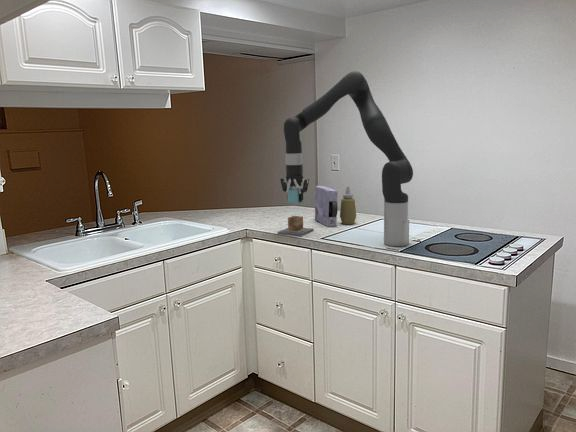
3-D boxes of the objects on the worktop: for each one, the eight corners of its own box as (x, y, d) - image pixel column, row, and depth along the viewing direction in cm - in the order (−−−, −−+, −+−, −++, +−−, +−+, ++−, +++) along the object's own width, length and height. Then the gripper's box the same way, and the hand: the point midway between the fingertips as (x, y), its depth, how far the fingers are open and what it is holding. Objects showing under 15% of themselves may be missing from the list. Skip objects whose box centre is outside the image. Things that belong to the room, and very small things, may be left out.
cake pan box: (338, 226, 221) (338, 190, 218) (328, 227, 220) (328, 190, 216) (323, 219, 239) (322, 185, 236) (314, 220, 238) (313, 186, 234)
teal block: (302, 202, 210) (302, 188, 209) (297, 203, 206) (297, 190, 205) (293, 201, 213) (292, 188, 212) (287, 203, 209) (287, 189, 208)
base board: (313, 230, 214) (313, 228, 214) (300, 236, 204) (300, 234, 204) (291, 228, 220) (291, 226, 220) (277, 233, 210) (277, 231, 210)
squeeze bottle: (351, 225, 222) (351, 188, 219) (336, 224, 227) (336, 187, 224) (359, 222, 228) (359, 186, 225) (345, 221, 233) (344, 185, 230)
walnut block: (303, 229, 213) (302, 216, 212) (297, 231, 209) (297, 218, 207) (293, 228, 215) (293, 215, 214) (288, 230, 211) (287, 217, 210)
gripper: (312, 163, 206) (313, 201, 209) (284, 162, 213) (285, 199, 216) (304, 164, 199) (305, 203, 203) (276, 163, 207) (277, 201, 210)
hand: (295, 201), depth 209 cm, fingers closed on teal block, 5 cm apart
